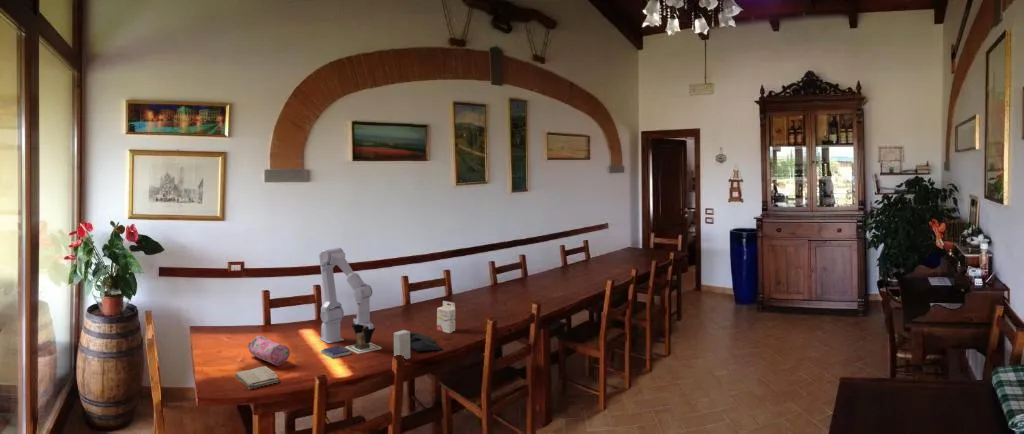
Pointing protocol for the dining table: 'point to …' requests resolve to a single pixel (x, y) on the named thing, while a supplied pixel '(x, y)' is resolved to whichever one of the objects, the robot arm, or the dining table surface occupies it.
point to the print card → (372, 347)
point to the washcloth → (257, 377)
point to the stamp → (361, 342)
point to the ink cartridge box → (446, 317)
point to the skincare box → (402, 343)
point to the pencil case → (269, 350)
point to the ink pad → (335, 351)
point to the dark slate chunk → (422, 343)
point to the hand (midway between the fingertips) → (363, 341)
